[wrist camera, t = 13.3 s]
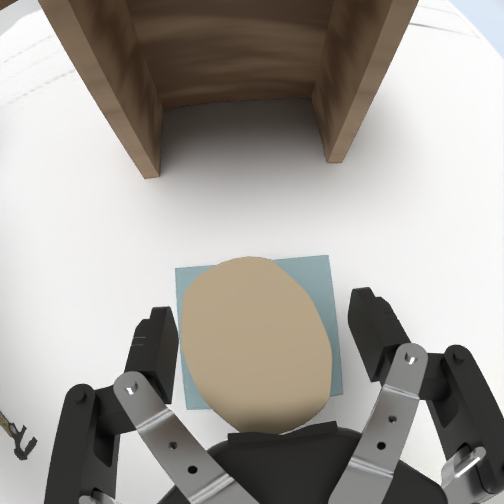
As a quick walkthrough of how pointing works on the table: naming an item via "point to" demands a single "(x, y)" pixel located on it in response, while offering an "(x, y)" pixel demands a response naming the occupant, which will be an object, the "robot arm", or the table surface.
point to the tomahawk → (17, 438)
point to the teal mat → (316, 286)
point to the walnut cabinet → (228, 59)
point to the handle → (256, 346)
